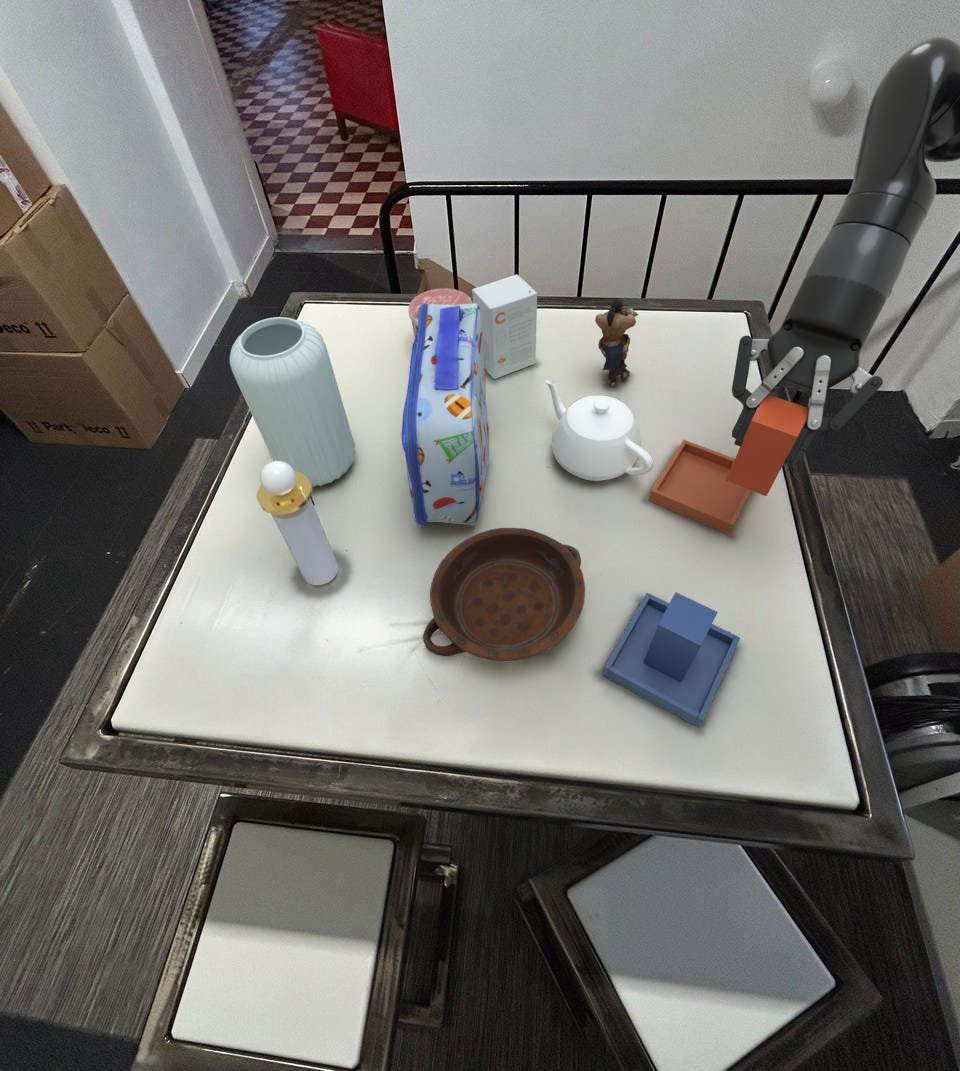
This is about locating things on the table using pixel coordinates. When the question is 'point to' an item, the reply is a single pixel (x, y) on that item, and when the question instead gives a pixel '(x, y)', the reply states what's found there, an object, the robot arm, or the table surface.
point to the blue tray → (658, 687)
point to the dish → (505, 595)
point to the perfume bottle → (297, 520)
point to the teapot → (597, 438)
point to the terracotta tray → (700, 487)
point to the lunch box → (446, 415)
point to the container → (436, 301)
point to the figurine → (615, 339)
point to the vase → (294, 397)
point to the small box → (507, 324)
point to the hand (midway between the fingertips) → (762, 453)
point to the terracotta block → (767, 444)
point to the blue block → (679, 636)
